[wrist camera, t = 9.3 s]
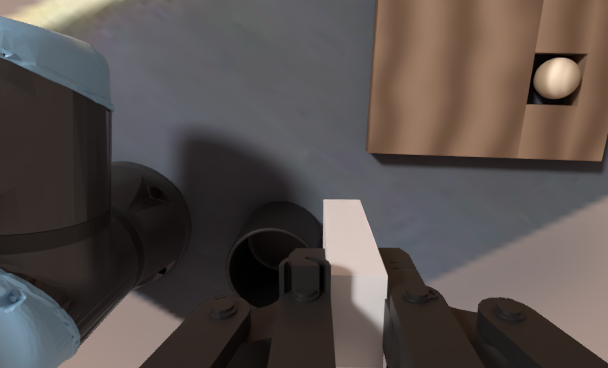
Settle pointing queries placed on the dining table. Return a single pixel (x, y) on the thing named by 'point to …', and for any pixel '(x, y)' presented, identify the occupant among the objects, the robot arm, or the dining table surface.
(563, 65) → the ball
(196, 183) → the dining table surface
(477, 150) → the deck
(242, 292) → the mug
